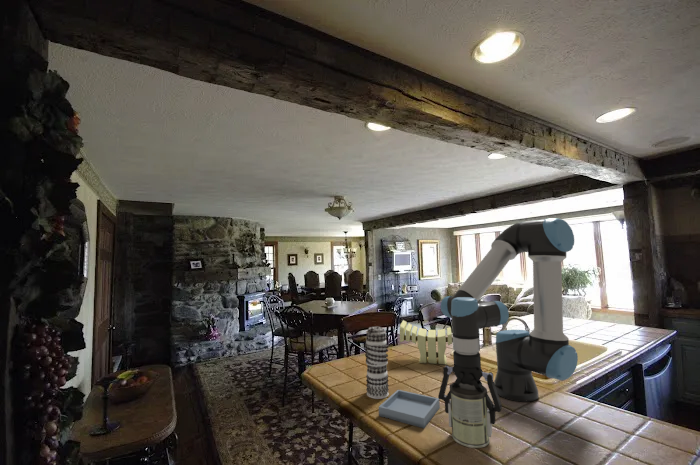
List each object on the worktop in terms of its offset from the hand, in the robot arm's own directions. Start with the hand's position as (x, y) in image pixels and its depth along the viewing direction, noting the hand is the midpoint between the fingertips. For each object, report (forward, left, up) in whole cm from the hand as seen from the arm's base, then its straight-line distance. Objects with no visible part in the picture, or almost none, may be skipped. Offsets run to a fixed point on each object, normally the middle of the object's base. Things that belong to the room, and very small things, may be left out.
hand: (470, 429), depth 94 cm
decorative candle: (+37, -13, -3) cm, 39 cm away
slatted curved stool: (+31, -61, -3) cm, 68 cm away
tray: (+21, -6, -2) cm, 22 cm away
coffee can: (0, 0, -2) cm, 2 cm away
